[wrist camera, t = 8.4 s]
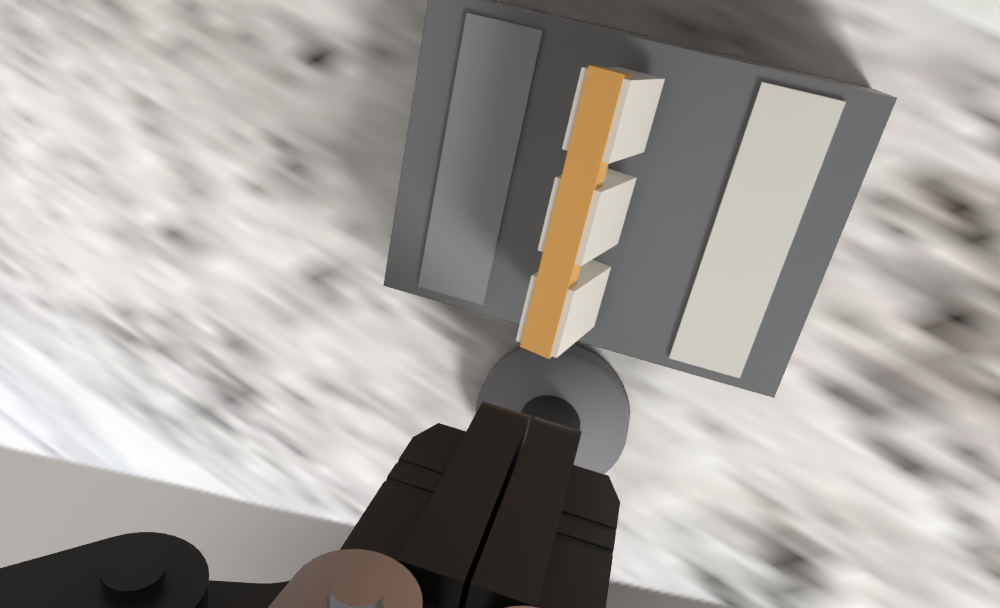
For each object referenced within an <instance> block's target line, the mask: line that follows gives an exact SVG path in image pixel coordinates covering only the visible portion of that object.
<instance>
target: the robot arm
mask: <svg viewBox="0 0 1000 608" xmlns="http://www.w3.org/2000/svg"><path fill="white" fill-rule="evenodd" d="M529 421H530V415H527V414H523V413H520V412H517V411H513V410H510V409H507V408H504V407H500V406H497V405H494V404H490V403H487V402H484V401H483V402H482V403H481V405H480V407H479V409H478V411H477V413H476V414H475V416H474V418H473V420H472V422H471V424H470V426H469V428H468V430H467V431H462V430H459V429H456V428H453V427H449V426H446V425H443V424H440V423H438V424H436V425H434V426H432V427H431V428H429V429H427V430H425V431H423V432H422V433H420V434H418V435H416V436H414V437H413V438H412V440H411V441H410V443H409V444H408V446H407V447H406V449H405V450H404V452H403V453H402V455H401V457H400V458H399V461H398V463H396V464H395V466H394V467H393V469H392V470H391V472H390V473H389V475H388V477H387V480H386V482H385V481H384V483H383V484H382V486H381V487H380V489H379V490H378V492H377V494H376V495H375V497H374V498H373V500H372V501H371V503H370V504H369V506H368V507H367V509H366V510H365V512H364V514H363V515H362V517H361V518H360V520H359V521H358V523H357V524H356V526H355V527H354V529H353V530H352V532H351V534H350V535H349V537H348V538H347V540H346V541H345V543H344V544H343V546H342V547H341V549H340V550H338V551H332V552H329V553H326V554H323V555H320V556H318V557H317V558H314V559H312V560H311V561H310V562H308V563H307V564H305V565H304V566H303V567H302V568H301V569H300V570H299V571H298V572H297V573H296V574H295V576H294V577H293V578H292V579H291V580H290V581H287V582H280V583H271V584H258V583H241V582H226V581H210V580H209V571H208V565H207V563H206V560H205V558H204V557H203V556H202V554H201V552H200V551H199V550H198V549H197V548H195V547H194V546H193V545H192V544H190V543H189V542H187V541H185V540H183V539H181V538H178V537H175V536H172V535H167V534H163V533H154V532H139V533H130V534H124V535H120V536H115V537H111V538H108V539H104V540H100V541H97V542H93V543H90V544H86V545H82V546H79V547H75V548H72V549H68V550H65V551H61V552H58V553H54V554H50V555H47V556H43V557H40V558H36V559H32V560H29V561H25V562H21V563H18V564H14V565H11V566H7V567H3V568H0V608H606V601H607V594H608V586H609V579H610V572H611V565H612V557H613V555H612V553H613V550H614V543H615V535H616V533H615V532H616V528H617V521H618V513H619V506H620V501H619V499H618V496H617V494H616V492H615V490H614V487H613V485H612V483H611V480H610V478H609V476H608V475H604V474H601V473H598V472H595V471H592V470H588V469H585V468H582V467H579V466H576V465H574V461H575V457H576V453H577V449H578V445H579V441H580V437H581V433H582V431H580V430H576V429H573V428H570V427H567V426H563V425H560V424H557V423H553V422H550V421H547V420H544V419H540V418H537V417H534V418H533V421H532V423H531V426H530V429H529V431H528V434H527V430H528V426H529ZM526 434H527V437H526ZM525 438H526V439H525Z"/></svg>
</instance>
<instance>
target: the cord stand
mask: <svg viewBox="0 0 1000 608" xmlns="http://www.w3.org/2000/svg"><path fill="white" fill-rule="evenodd" d="M483 401H484V402H487V403H490V404H494V405H497V406H500V407H504V408H507V409H510V410H513V411H517V412H520V413H523V414H527V415H530V421H529V426H528V430H527V434H528V431H529V429H530V426H531V423H532V421H533V418H534V417H537V418H540V419H544V420H547V421H550V422H553V423H557V424H560V425H563V426H567V427H570V428H573V429H576V430H580V431H582V433H581V437H580V441H579V445H578V449H577V453H576V457H575V461H574V465H576V466H579V467H582V468H585V469H588V470H592V471H595V472H598V473H601V474H605V473H606V472H607V471H608V470H609V469H610V468H611V467H612V466H613V465H614V464H615V463H616V461H617V460H618V458H619V457H620V455H621V453H622V451H623V448H624V446H625V442H626V438H627V432H628V425H629V417H630V408H629V401H628V396H627V393H626V390H625V388H624V385H623V384H622V382H621V380H620V378H619V377H618V375H617V374H616V373H615V371H614V370H613V369H612V368H611V367H610V366H609V365H608V363H607V362H605V361H604V360H603V359H602V358H600V357H599V356H598V355H596V354H595V353H593V352H591V351H590V350H588V349H586V348H584V347H581V346H579V345H576V344H573V345H572V346H570V347H569V348H568V349H567V350H566V351H564V352H563V353H562V354H561V355H560V356H558V357H557V358H555V357H553V356H552V357H551V358H550V359H548V358H545V357H543V356H541V355H538V354H536V353H534V352H531V351H529V350H527V349H524V348H522V347H520V346H519V347H517V348H515V349H513V350H512V351H510V352H508V353H507V354H506V355H505V356H503V357H502V358H501V359H500V360H499V361H498V362H497V364H496V365H495V366H494V368H493V369H492V371H491V372H490V374H489V376H488V378H487V379H486V381H485V383H484V385H483V387H482V389H481V391H480V394H479V397H478V401H477V408H476V413H477V411H478V409H479V407H480V405H481V403H482V402H483ZM527 434H526V437H527ZM525 439H526V438H525Z"/></svg>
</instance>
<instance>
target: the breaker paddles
mask: <svg viewBox="0 0 1000 608" xmlns="http://www.w3.org/2000/svg"><path fill="white" fill-rule="evenodd" d="M664 81H665V79H664V78H661V77H657V76H653V75H649V74H645V73H641V72H638V71H634V70H630V69H626V68H622V67H603V66H599V65H589V67H582V68H581V72H580V76H579V80H578V84H577V89H576V93H575V97H574V101H573V105H572V109H571V114H570V118H569V122H568V126H567V130H566V134H565V138H564V143H563V147H562V149H563V150H566V151H568V152H567V156H566V161H565V165H564V169H563V173H562V175H560V176H557V177H555V180H554V184H553V188H552V192H551V196H550V201H549V205H548V209H547V213H546V217H545V221H544V225H543V230H542V234H541V238H540V242H539V246H538V251H541V252H543V255H542V259H541V263H540V267H539V271H538V272H536V273H535V274H533V275H531V279H530V283H529V288H528V292H527V296H526V300H525V304H524V308H523V312H522V317H521V321H520V325H519V329H518V333H517V337H516V341H517V342H520V343H521V344H520V347H522V348H524V349H527V350H529V351H531V352H534V353H536V354H538V355H541V356H543V357H545V358H548V359H550V358H551V357H552V356H553V357H555V358H557V357H558V356H560V355H561V354H562V353H563V352H564V351H566V350H567V349H568V348H569V347H570V346H572V345H573V344H574V343H575V342H576V341H578V340H579V339H580V338H581V337H582V336H584V335H585V334H586V333H587V332H588V331H590V330H591V329H592V328H593V327H594V325H595V322H596V318H597V315H598V311H599V308H600V304H601V301H602V297H603V294H604V290H605V287H606V283H607V280H608V276H609V273H610V269H611V266H608V265H605V264H603V263H600V262H597V261H595V260H592V259H594V258H595V257H597V256H599V255H600V254H602V253H604V252H605V251H607V250H608V249H610V248H612V247H613V246H615V245H617V244H618V241H619V238H620V234H621V231H622V227H623V224H624V220H625V217H626V213H627V210H628V206H629V203H630V199H631V196H632V192H633V189H634V185H635V182H636V178H637V177H634V176H631V175H627V174H624V173H621V172H618V171H615V170H612V169H608V164H609V163H612V162H615V161H618V160H622V159H625V158H628V157H631V156H634V155H637V154H640V153H643V152H644V151H645V147H646V144H647V140H648V137H649V133H650V130H651V126H652V123H653V119H654V116H655V112H656V109H657V105H658V102H659V98H660V95H661V91H662V88H663V84H664Z"/></svg>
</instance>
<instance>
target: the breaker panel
mask: <svg viewBox="0 0 1000 608" xmlns="http://www.w3.org/2000/svg"><path fill="white" fill-rule="evenodd" d="M589 65H599V66H603V67H622V68H626V69H630V70H634V71H638V72H641V73H645V74H649V75H653V76H657V77H661V78H664V79H665V81H664V84H663V88H662V91H661V95H660V98H659V102H658V105H657V109H656V112H655V116H654V119H653V123H652V126H651V130H650V133H649V137H648V140H647V144H646V147H645V151H644V152H643V153H640V154H637V155H634V156H631V157H628V158H625V159H622V160H618V161H615V162H612V163H609V164H608V169H612V170H615V171H618V172H621V173H624V174H627V175H631V176H634V177H637V178H636V182H635V185H634V189H633V192H632V196H631V199H630V203H629V206H628V210H627V213H626V217H625V220H624V224H623V227H622V231H621V234H620V238H619V241H618V244H617V245H615V246H613V247H612V248H610V249H608V250H607V251H605V252H604V253H602V254H600V255H599V256H597V257H595V258H594V259H592V260H595V261H597V262H600V263H603V264H605V265H608V266H611V269H610V273H609V276H608V280H607V283H606V287H605V290H604V294H603V297H602V301H601V304H600V308H599V311H598V315H597V318H596V322H595V325H594V327H593V328H592V329H591V330H590V331H588V332H587V333H586V334H585V335H584V336H582V337H581V338H580V339H579V340H578V342H582V343H585V344H589V345H592V346H596V347H599V348H603V349H606V350H610V351H613V352H617V353H620V354H624V355H627V356H631V357H634V358H638V359H641V360H645V361H648V362H652V363H655V364H658V365H662V366H665V367H669V368H672V369H676V370H679V371H683V372H686V373H690V374H693V375H697V376H700V377H704V378H707V379H711V380H714V381H718V382H721V383H725V384H728V385H732V386H735V387H739V388H742V389H746V390H749V391H753V392H756V393H759V394H763V395H766V396H770V397H773V398H774V397H775V394H776V392H777V389H778V387H779V384H780V382H781V379H782V377H783V375H784V372H785V370H786V367H787V365H788V362H789V360H790V358H791V355H792V353H793V350H794V348H795V345H796V343H797V340H798V338H799V336H800V333H801V331H802V328H803V326H804V323H805V321H806V319H807V316H808V314H809V311H810V309H811V306H812V304H813V301H814V299H815V297H816V294H817V292H818V289H819V287H820V284H821V282H822V280H823V277H824V275H825V272H826V270H827V267H828V265H829V262H830V260H831V258H832V255H833V253H834V250H835V248H836V245H837V243H838V241H839V238H840V236H841V233H842V231H843V228H844V226H845V223H846V221H847V219H848V216H849V214H850V211H851V209H852V206H853V204H854V201H855V199H856V197H857V194H858V192H859V189H860V187H861V184H862V182H863V180H864V177H865V175H866V172H867V170H868V167H869V165H870V162H871V160H872V158H873V155H874V153H875V150H876V148H877V145H878V143H879V141H880V138H881V136H882V133H883V131H884V128H885V126H886V123H887V121H888V119H889V116H890V114H891V111H892V109H893V106H894V104H895V102H896V99H897V98H896V97H893V96H890V95H888V94H885V93H882V92H880V91H877V90H875V89H872V88H868V87H863V86H859V85H855V84H850V83H846V82H842V81H837V80H833V79H829V78H824V77H820V76H816V75H812V74H807V73H803V72H799V71H794V70H790V69H786V68H781V67H777V66H773V65H768V64H764V63H760V62H755V61H751V60H747V59H743V58H738V57H734V56H730V55H725V54H721V53H717V52H712V51H708V50H704V49H699V48H695V47H691V46H686V45H682V44H678V43H673V42H669V41H665V40H661V39H656V38H652V37H648V36H643V35H639V34H635V33H630V32H626V31H622V30H617V29H613V28H609V27H604V26H600V25H596V24H592V23H587V22H583V21H579V20H574V19H570V18H566V17H561V16H557V15H553V14H548V13H544V12H540V11H535V10H531V9H527V8H522V7H518V6H514V5H510V4H505V3H501V2H497V1H492V0H428V6H427V12H426V19H425V25H424V31H423V38H422V44H421V50H420V57H419V63H418V70H417V76H416V82H415V89H414V95H413V101H412V108H411V114H410V121H409V127H408V133H407V140H406V146H405V152H404V159H403V165H402V172H401V178H400V184H399V191H398V197H397V203H396V210H395V216H394V223H393V229H392V235H391V242H390V248H389V254H388V261H387V267H386V274H385V280H384V286H387V287H390V288H394V289H397V290H401V291H404V292H408V293H411V294H415V295H418V296H422V297H425V298H429V299H432V300H436V301H439V302H443V303H446V304H449V305H453V306H456V307H460V308H463V309H467V310H470V311H474V312H477V313H481V314H484V315H488V316H491V317H495V318H498V319H502V320H505V321H509V322H512V323H516V324H519V325H520V321H521V317H522V312H523V308H524V304H525V300H526V296H527V292H528V288H529V283H530V279H531V275H533V274H535V273H536V272H538V271H539V267H540V263H541V259H542V255H543V252H541V251H538V246H539V242H540V238H541V234H542V230H543V225H544V221H545V217H546V213H547V209H548V205H549V201H550V196H551V192H552V188H553V184H554V180H555V177H557V176H560V175H562V173H563V169H564V165H565V161H566V156H567V152H568V151H566V150H563V149H562V147H563V143H564V138H565V134H566V130H567V126H568V122H569V118H570V114H571V109H572V105H573V101H574V97H575V93H576V89H577V84H578V80H579V76H580V72H581V68H582V67H589Z"/></svg>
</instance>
